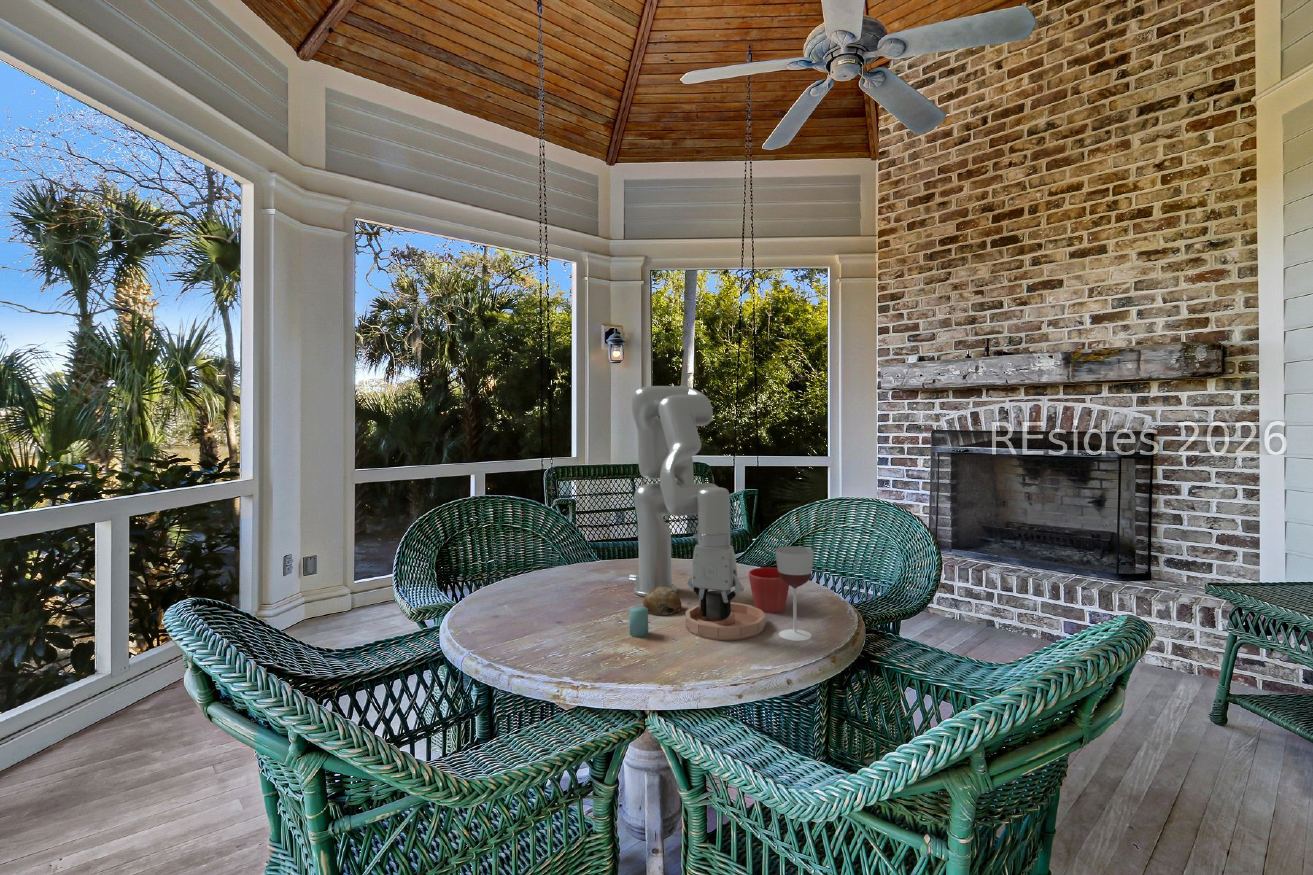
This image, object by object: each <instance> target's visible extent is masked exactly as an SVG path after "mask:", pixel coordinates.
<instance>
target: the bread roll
mask: <svg viewBox="0 0 1313 875" xmlns="http://www.w3.org/2000/svg"><path fill="white" fill-rule="evenodd" d="M642 605H643V607H647V608H648V614H651V615H655V616H667V615H668V616H669V615H673V614H675V613H679V612H680V611H681V610H682V600H681V597H680V595H678V594H677V592H676V593H675V592H674V590H673V589H670V588H668V587H656V588H655V589H653V590H651V591H650V592H649V593H648V594H647V596H645V597H644V598H643V601H642Z"/></svg>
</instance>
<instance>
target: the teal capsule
mask: <svg viewBox="0 0 1313 875" xmlns="http://www.w3.org/2000/svg"><path fill="white" fill-rule="evenodd" d="M628 610H629V613H628V614H629V635H630V637H634V638H644V637H647V636H649V613H648V608H647V607H643V606H642V605H640V606H639V605H637V606H632V607H629V609H628Z"/></svg>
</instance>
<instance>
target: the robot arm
mask: <svg viewBox="0 0 1313 875" xmlns="http://www.w3.org/2000/svg"><path fill="white" fill-rule="evenodd" d="M631 412H632V416H633V420H634V423H635V426H636V431H637V455H638V457H637V458H638V470H639V474H640V475H641V477H642V478H644V479H649V480H650V479H651V480H653V479H654V480H657V479H658V480H659V482H655V483H646V484H642V485H641V486H639V487H638V488H637V489H636V490H635V491H634V493H633V494H634V495H633V496H634V497H633V501H634V502H633V503H634V507H635V514H636V519H637V539H638V540H637V541H638V546H637V548H638V574H635V573H630V574H629V578H628V582H629V583H635V586H634V588H633V591H634V594H636V595H637V596H640V597H644V598H645V596H647V594H648V593H649V592H650V591H651V590H653V589H655V588H656V587H668V588H670V589H673V590H674V592H675V593H676V594H677V592H678V586H677V585H675V584H673V583H672V582H673V581H672V580H673V579H672V532H671V529H670V527H669V524H668V523H666V522H665V520H664V518H663V517H667V516H675V517H682V516H685V517H687V516H694V515H697V533H693V537H692V538H693V539H694V540H696V541H697V544H695V546H694V549H693V556H692V564H691V576H690V578H689V579H688V581H687V585H688V587H690V588H691V589H692V590H693V591H694V593H695V594H696V595H697V596H698V600H699V599H700V600H701V612H702V616H703V617H705V616H706V592H708V591H721V593H722V598H723V602H722V603H721V619H722V620H725V619H726V618H728V617H729V615H730V613H731V602H732V600H733V599H734V598H735V597H736V596H737V595H739V594H741V593H742V592H743V591H744V590H745V588H744V586H743V584H742V583H741V581H740V580H739V578H738V570H737V569H738V568H737V561H736V554H735V549H734V546H733V545H731V506H730V505H731V504H730V501H731V500H730V492H729V490H728V489H727V488H726V487H725V488H724V487H719V486H718V485H717V484H714V483H712V482H711V483H709V482H708V483H707V482H706V483H694V482H695V481H694V460H693V457H694V456H696V455H697V454H698V453H699V452H700V450H701V448H702V441H701V439H700V438H701V437H700V434H699V432H698V428H697V427H700V426H701V427H703V426H704V427H705V426H707V425H709V424H710V423H711V421H712V419H713V416H714V415H713V414H714V413H713V406H712V404H711V401H710V399H709V398H708V396H707V395H705V394H704V393H702V392H700V391H698V390H697V389H694V388H693V387H691V386H688V385H687V386H686V385H650V386H643V387H640V388H638V389H636V390H635V391H634V393H633V394H632V399H631ZM732 588H735V589H733V590H732Z"/></svg>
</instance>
